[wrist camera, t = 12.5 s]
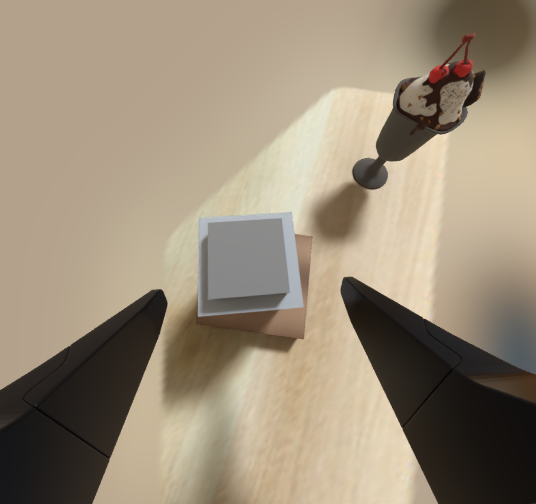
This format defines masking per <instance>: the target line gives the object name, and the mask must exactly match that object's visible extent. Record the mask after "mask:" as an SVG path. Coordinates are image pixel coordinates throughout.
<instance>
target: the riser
mask: <svg viewBox="0 0 536 504" xmlns="http://www.w3.org/2000/svg"><path fill="white" fill-rule="evenodd" d="M295 242H296V250H297V258H298V266H299V274H300V282H301V290H302V298H303V306H304V307H301V308H290V309H279V310H268V311H257V312H245V313H234V314H223V315H212V316H201V317H198V316H197V321H196V324H200V325H207V326H214V327H221V328H228V329H235V330H242V331H249V332H256V333H263V334H270V335H277V336H284V337H291V338H298V339H304V332H305V320H306V308H307V296H308V284H309V272H310V259H311V247H312V236H305V235H298V234H295Z"/></svg>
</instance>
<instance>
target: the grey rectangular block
mask: <svg viewBox="0 0 536 504" xmlns="http://www.w3.org/2000/svg"><path fill="white" fill-rule="evenodd" d="M301 307H304V306H303V298H302V290H301V282H300V274H299V266H298V258H297V250H296V242H295V234H294V225H293V217H292V212H285V213H269V214H253V215H236V216H220V217H204V218H199V233H198V317H201V316H212V315H223V314H234V313H245V312H257V311H268V310H279V309H290V308H301Z"/></svg>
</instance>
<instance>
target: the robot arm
mask: <svg viewBox="0 0 536 504" xmlns="http://www.w3.org/2000/svg"><path fill="white" fill-rule="evenodd" d="M341 295H342V298H343V301H344V304H345V307H346V310H347V313H348V315H349V318H350V321H351V323H352V325H353V327H354V329H355V331H356V333H357V336H358V338H359V340H360V342H361V344H362V346H363V348H364V350H365V352H366V354H367V356H368V358H369V361H370V363H371V365H372V367H373V369H374V371H375V373H376V375H377V377H378V379H379V381H380V383H381V385H382V388H383V390H384V392H385V394H386V396H387V398H388V400H389V402H390V404H391V406H392V408H393V410H394V412H395V415H396V417H397V419H398V421H399V423H400V425H401V427H402V428H403V432H404V434H405V436H406V438H407V440H408V442H409V444H410V446H411V448H412V450H413V452H414V454H415V456H416V459H417V461H418V463H419V465H420V467H421V469H422V471H423V473H424V475H425V477H426V479H427V481H428V483H429V486H430V488H431V490H432V492H433V494H434V496H435V498H436V500H437V502H438V504H536V374H533V373H530V372H527V371H525V370H522V369H520V368H517V367H515V366H513V365H511V364H509V363H507V362H505V361H503V360H501V359H499V358H497V357H495V356H493V355H491V354H489V353H488V352H486V351H484V350H482V349H480V348H478V347H476V346H474V345H472V344H470V343H468V342H466V341H464V340H462V339H460V338H459V337H457V336H455V335H452V334H451V333H449V332H447V331H445V330H444V329H442V328H440V327H438V326H437V325H435V324H433V323H431V322H430V321H428V320H426V319H423V317H421V316H419V315H417V314H416V313H414V312H412V311H410V310H409V309H407V308H405V307H404V306H402V305H400V304H398V303H397V302H395V301H393V300H391V299H390V298H388V297H386V296H385V295H383V294H381V293H379V292H378V291H376V290H374V289H373V288H371V287H369V286H367V285H366V284H364V283H362V282H360V281H359V280H357V279H355V278H353V277H344V278H343V281H342V285H341ZM166 309H167V300H166V297H165V295H164V292H163V290H161V289H157V290H151V291H150V292H148V293H147V294H145V295H144V296H143V297H141V298H140V299H138V300H137V301H135V302H134V303H132V304H131V305H129V306H128V307H126V308H125V309H123V310H122V311H120V312H119V313H117V314H116V315H114V316H113V317H111V318H110V319H108V320H107V321H106V322H104V323H103V324H101V325H100V326H98V327H97V328H95V329H94V330H92V331H91V332H89V333H88V334H86V335H85V336H83V337H82V338H80V339H79V340H77V341H76V342H74V343H73V344H71V346H68V347H67V348H65V349H64V350H62V351H61V352H60V353H58V354H57V355H55V356H53V357H52V358H51V359H49V360H47V361H46V362H45V363H43V364H41V365H40V366H38V367H37V368H35V369H33V370H32V371H30V372H29V373H27V374H25V375H24V376H22V377H21V378H19V379H17V380H16V381H14V382H13V383H11V384H9V385H8V386H6V387H5V388H3V389H1V390H0V504H92V503H93V500H94V498H95V495H96V493H97V490H98V488H99V485H100V483H101V480H102V478H103V475H104V473H105V470H106V468H107V465H108V463H109V458H110V457H111V455H112V452H113V450H114V447H115V445H116V442H117V440H118V437H119V435H120V432H121V430H122V427H123V425H124V422H125V420H126V417H127V415H128V412H129V410H130V407H131V405H132V402H133V400H134V397H135V395H136V392H137V390H138V387H139V385H140V382H141V380H142V377H143V375H144V372H145V370H146V367H147V365H148V362H149V360H150V357H151V354H152V352H153V350H154V347H155V344H156V342H157V340H158V337H159V334H160V331H161V327H162V324H163V320H164V316H165V313H166Z"/></svg>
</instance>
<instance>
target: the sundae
mask: <svg viewBox="0 0 536 504" xmlns="http://www.w3.org/2000/svg"><path fill="white" fill-rule="evenodd" d="M474 36H475V33H474V34H472V35H465V36H463V37H462V42H463V43H462V44H461V45H460V47H458V49H457V50H456V51H455V52H454V53H453V54H452V55H451V56H450V57H449V58H448V59H447V60H446V61H445V62H444V63H443V65H440V66H436V67H435V68H434V69H433V70H432V71H431V72H430V74H427V75H425V76H422V77H416V78H409V79H404V80H402V81H401V82H400V83H399V84H398V86H397V88H396V90H395V94H394V99H393V109H392V111H391V113H390V115H389V117H388V119H387V121H386V123H385V125H384V126H383V128H382V130H381V132H380V135H379V137H378V139H377V142H376V149H377V152H378V155H379V157H378V158H377V159H376V160H375V159H371V158H365V159H361V160H359V161H358V162H357V163H356V164H355V165H354V168H353V174H354V177H355V179H356V180H357V182H358V183H359V184H361V185H362V186H364V187H367V188H372V189H374V188H379V187H381V186H383V185H384V184H385V183H386V181H387V177H388V172H387V170H386V168H385V166H384V165H383V164H384V163H385V162H386V161H400V160H403V159H404V158H406V157H407V156H409V155H410V154H412V153H413V152H414V151H416V150H417V149H418V148H420V147H421V146H422V145H423V144H425V143H426V142H427V141H428V140H430V139H431V138H432V137H434V136H435V135H437V134H446V133H448V132H450V131H452V130H454V129H455V128H457V127H458V126H459V125H460V124H461V123H463V122H464V120H465V118H466V116H467V113H468V112H467V108H466V106H469V105H471V104H473V103H474V102H476V101H477V100H478V99H479V98H480V96H481V92H482V88H483V83H484V77H485V73H486V72H485V70H482V71H480V72H478V73H475V74H473V72H472V70H471V69H472V67H473V63H472V62H471V61H470V60H468V59H467V56H468V45H469V43H470V41H471V40H472V39H473V38H474ZM466 42H468V44H467V46H466V50H465V58H464V60H462V61H460V62H458V61H457V62H452V63H449V64H447V63H448V61H449V60H451V58H452V57H453V56H454V55H455V54H456V53H457V51H459V49H460V48H461V47H462V46H463V45H464V44H465V43H466Z"/></svg>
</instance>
